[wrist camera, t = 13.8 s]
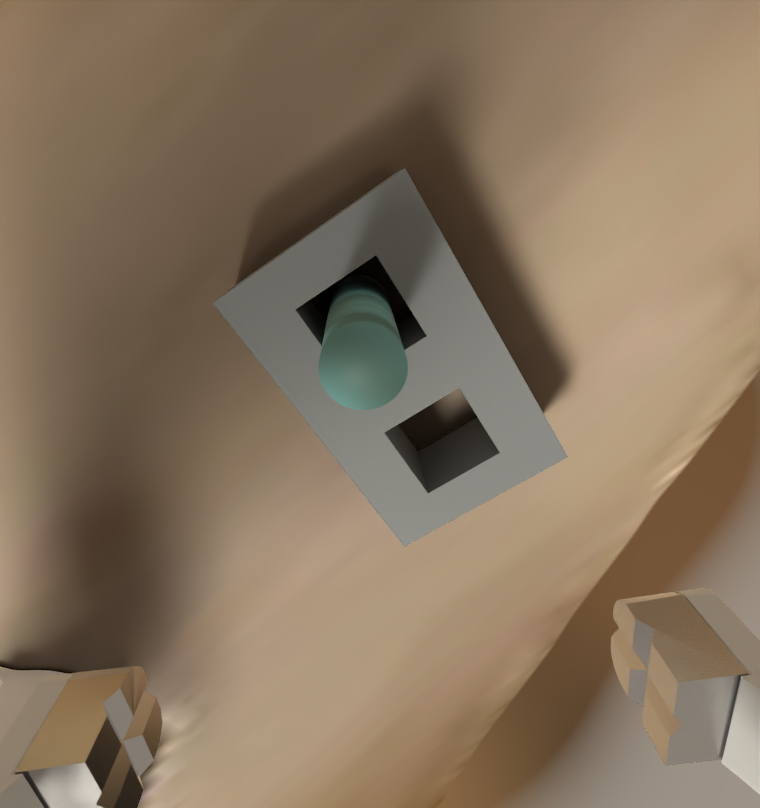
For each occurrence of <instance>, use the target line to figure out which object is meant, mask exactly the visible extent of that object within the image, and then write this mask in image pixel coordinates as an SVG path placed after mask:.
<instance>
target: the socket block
mask: <svg viewBox="0 0 760 808" xmlns="http://www.w3.org/2000/svg"><path fill="white" fill-rule="evenodd" d="M374 256H377V257H378V259H379V261H380V262H381V264H382V265H383V267H384V268H385V270H386V272H387V273H388V275H389V276H390V278H391V280H392V281H393V283H394V284H395V286H396V288H397V289H398V291H399V292H400V294H401V296H402V297H403V299H404V300H405V302H406V304H407V305H408V307H409V308H410V310H411V312H412V313H413V316H411V317H410V318H408V319H406V320H405V321H403V322H402V323H400V324H399V325H397V329H398V332H399V335H400V338H401V341H402V344H403V347H404V351H405V354H406V357H407V362H408V374H407V378H406V382H405V384H404V386H403V388H402V390H401V391H400V393H399V394H398V395H397V396H396V397H395V398H394V399H393V400H392V401H390V402H389V403H388V404H386V405H384V406H382V407H379V408H376V409H372V410H354V409H350V408H347V407H344V406H342V405H340V404H338V403H337V402H336V401H334V400H333V399H332V398H331V397H330V396H329V395H328V394H327V393H326V391H325V390H324V388H323V386H322V384H321V381H320V378H319V373H318V364H319V358H320V353H321V348H322V343H323V338H324V333H325V328H326V323H327V322H326V321H325V319H324V318H323V317H322V315H321V314H320V312H319V311H318V309H317V308H316V307H315V305H314V304H313V302H312V301H311V299H312V298H313V297H315V296H316V295H318V294H319V293H321V292H322V291H324V290H325V289H327V288H328V287H330V286H331V285H333V284H334V283H336V282H337V281H339V280H340V279H342V278H343V277H345V276H346V275H347V274H349V273H350V272H352V271H353V270H355V269H356V268H358V267H359V266H361V265H362V264H364V263H365V262H367V261H368V260H370V259H371V258H373V257H374ZM213 304H214V305H215V307H216V308H217V309H218V310H219V312H220V313H221V314H222V316H223V317H224V318H225V319H226V321H227V322H228V323H229V324H230V326H231V327H232V328H233V330H234V331H235V332H236V333H237V335H238V336H239V337H240V338H241V340H242V341H243V342H244V344H245V345H246V346H247V347H248V349H249V350H250V351H251V352H252V354H253V355H254V356H255V357H256V359H257V360H258V361H259V363H260V364H261V365H262V366H263V368H264V369H265V370H266V371H267V373H268V374H269V375H270V377H271V378H272V379H273V380H274V382H275V383H276V384H277V385H278V387H279V388H280V389H281V391H282V392H283V393H284V394H285V396H286V397H287V398H288V399H289V401H290V402H291V403H292V404H293V406H294V407H295V408H296V410H297V411H298V412H299V413H300V415H301V416H302V417H303V418H304V420H305V421H306V422H307V424H308V425H309V426H310V427H311V429H312V430H313V431H314V432H315V434H316V435H317V436H318V438H319V439H320V440H321V441H322V443H323V444H324V445H325V446H326V448H327V449H328V450H329V451H330V453H331V454H332V455H333V457H334V458H335V459H336V460H337V462H338V463H339V464H340V465H341V467H342V468H343V469H344V471H345V472H346V473H347V474H348V476H349V477H350V478H351V479H352V481H353V482H354V483H355V485H356V486H357V487H358V488H359V490H360V491H361V492H362V493H363V495H364V496H365V497H366V498H367V500H368V501H369V502H370V504H371V505H372V506H373V507H374V509H375V510H376V511H377V512H378V514H379V515H380V516H381V518H382V519H383V520H384V521H385V523H386V524H387V525H388V526H389V528H390V529H391V530H392V532H393V533H394V534H395V535H396V537H397V538H398V539H399V540H400V542H401V543H402V544H403V545H404V547H405V546H407V545H408V544H410V543H412V542H414V541H416V540H418V539H419V538H421V537H423V536H425V535H427V534H428V533H430V532H432V531H434V530H436V529H438V528H439V527H441V526H443V525H445V524H447V523H449V522H450V521H452V520H454V519H456V518H458V517H459V516H461V515H463V514H465V513H467V512H469V511H470V510H472V509H474V508H476V507H478V506H479V505H481V504H483V503H485V502H487V501H489V500H490V499H492V498H494V497H496V496H498V495H499V494H501V493H503V492H505V491H507V490H509V489H510V488H512V487H514V486H516V485H518V484H520V483H521V482H523V481H525V480H527V479H529V478H530V477H532V476H534V475H536V474H538V473H540V472H541V471H543V470H545V469H547V468H549V467H550V466H552V465H554V464H556V463H558V462H560V461H561V460H563V459H565V458H567V457H568V456H567V455H566V453H565V451H564V449H563V447H562V446H561V444H560V442H559V440H558V439H557V437H556V435H555V433H554V431H553V430H552V428H551V426H550V424H549V423H548V421H547V419H546V417H545V416H544V414H543V412H542V410H541V408H540V407H539V405H538V403H537V401H536V400H535V398H534V396H533V394H532V392H531V391H530V389H529V387H528V385H527V384H526V382H525V380H524V378H523V376H522V375H521V373H520V371H519V369H518V368H517V366H516V364H515V362H514V360H513V359H512V357H511V355H510V353H509V352H508V350H507V348H506V346H505V345H504V343H503V341H502V339H501V337H500V336H499V334H498V332H497V330H496V329H495V327H494V325H493V323H492V321H491V320H490V318H489V316H488V314H487V313H486V311H485V309H484V307H483V305H482V304H481V302H480V300H479V298H478V297H477V295H476V293H475V291H474V289H473V288H472V286H471V284H470V282H469V281H468V279H467V277H466V275H465V274H464V272H463V270H462V268H461V266H460V265H459V263H458V261H457V259H456V258H455V256H454V254H453V252H452V250H451V249H450V247H449V245H448V243H447V242H446V240H445V238H444V236H443V234H442V233H441V231H440V229H439V227H438V226H437V224H436V222H435V220H434V218H433V217H432V215H431V213H430V211H429V210H428V208H427V206H426V204H425V203H424V201H423V199H422V197H421V195H420V194H419V192H418V190H417V188H416V187H415V185H414V183H413V181H412V179H411V178H410V176H409V174H408V172H407V171H406V169H405V168H404V169H402V170H399V171H397V172H395V173H394V174H392V175H391V176H390V177H388V178H387V179H385V180H384V181H383V182H381V183H380V184H378V185H377V186H375V187H374V188H373V189H371V190H370V191H368V192H367V193H365V194H364V195H363V196H361V197H360V198H358V199H357V200H355V201H354V202H353V203H351V204H350V205H348V206H347V207H346V208H344V209H343V210H341V211H340V212H338V213H337V214H336V215H334V216H333V217H331V218H330V219H328V220H327V221H326V222H324V223H323V224H321V225H320V226H318V227H317V228H316V229H314V230H313V231H311V232H310V233H309V234H307V235H306V236H304V237H303V238H301V239H300V240H299V241H297V242H296V243H294V244H293V245H291V246H290V247H289V248H287V249H286V250H284V251H283V252H281V253H280V254H279V255H277V256H276V257H274V258H273V259H272V260H270V261H269V262H267V263H266V264H264V265H263V266H262V267H260V268H259V269H257V270H256V271H254V272H253V273H252V274H250V275H249V276H247V277H246V278H244V279H243V280H242V281H240V282H239V283H237V284H236V285H235V286H233V287H232V288H231V289H230V290H228V291H227V292H226V293H225V294H223V295H222V296H221V297H220V298H218V299H217V300H216V301H215V302H213ZM458 388H460V390H461V392H462V393H463V395H464V396H465V398H466V399H467V401H468V403H469V404H470V406H471V407H472V409H473V411H474V412H475V414H476V415H477V418H475V419H473V420H472V421H470V422H468V423H466V424H465V425H463V426H461V427H460V428H458V429H456V430H454V431H453V432H451V433H449V434H448V435H446V436H444V437H442V438H441V439H439V440H437V441H436V442H434V443H432V444H430V445H429V446H427V447H425V448H424V449H422V450H420V451H418V452H417V450H416V449H415V447H414V446H413V444H412V443H411V442H410V440H409V439H408V437H407V436H406V434H405V433H404V432H403V430H402V429H401V427H400V426H399V425H398V424H400V423H401V422H403V421H405V420H406V419H408V418H410V417H411V416H413V415H415V414H416V413H418V412H420V411H421V410H423V409H425V408H426V407H428V406H430V405H431V404H433V403H435V402H436V401H438V400H440V399H441V398H443V397H445V396H446V395H448V394H450V393H451V392H453V391H455V390H456V389H458Z"/></svg>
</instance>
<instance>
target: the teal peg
mask: <svg viewBox="0 0 760 808" xmlns="http://www.w3.org/2000/svg"><path fill="white" fill-rule="evenodd" d="M318 373H319V378H320V381H321V384H322V386H323V388H324V390H325V391H326V393H327V394H328V395H329V396H330V397H331V398H332V399H333V400H334V401H336V402H337V403H338V404H340V405H342V406H344V407H347V408H350V409H354V410H372V409H376V408H379V407H382V406H384V405H386V404H388V403H389V402H390V401H392V400H393V399H394V398H395V397H396V396H397V395H398V394H399V393H400V391H401V390H402V388H403V386H404V384H405V382H406V378H407V374H408V362H407V357H406V354H405V351H404V347H403V344H402V341H401V338H400V335H399V332H398V329H397V326H396V323H395V320H394V316H393V313H392V310H391V307H390V304H389V301H388V298H387V295H386V292H385V290H384V288H383V287H382V286H381V285H380V284H379V282H377V281H376V280H374V279H373V278H371V277H368V276H364V275H354V276H350V277H348V278H346V279H344V280H343V281H341V282H340V283H339V284H338V285H337V287H336V288H335V290H334V291H333V294H332V298H331V302H330V307H329V312H328V317H327V323H326V328H325V333H324V338H323V343H322V348H321V353H320V358H319V364H318Z"/></svg>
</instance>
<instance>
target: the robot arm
mask: <svg viewBox="0 0 760 808" xmlns="http://www.w3.org/2000/svg"><path fill="white" fill-rule="evenodd" d="M613 618H614V620H615V622H616V623H617V625H618V627H619V629H618V630H617V631H616V632H615V633H614V634H613V635H612V637H611V654H612V659H613V664H614V668H615V671H616V673H617V676H618V679H619V681H620V683H621V685H622V687H623V689H624V691H625V693H626V695H627V696H628V697H629V698H630V699H632V700H633V701H635V702H636V703H637V704H639V705H640V706H642V707H643V708H644V709H643V717H642V724H643V726H644V727H645V729H646V731H647V733H648V735H649V737H650V738H651V740H652V742H653V744H654V745H655V747H656V749H657V751H658V753H659V755H660V756H661V758H662V760H663V762H664V764H665V765H674V764H683V763H692V762H702V761H712V760H722V764H724V765H725V766H726V767H727V768H728V769H730V770H731V771H732V772H733V773H735V774H736V775H737V776H738V777H739V778H741V779H742V780H743V781H744V782H745V783H747V784H748V785H749V786H750V787H751V788H753V789H754V790H755V791H756V792H758V793H759V794H760V641H759V640H758V639H757V637H756V636H755V635H754V634H753V633H752V632H751V631H750V630H749V629H748V628H747V626H746V625H745V624H744V623H743V622H742V621H741V620H740V619H739V618H738V617H737V616H736V614H735V613H734V612H733V611H732V610H731V609H730V608H729V607H728V606H727V605H726V604H725V603H724V602H723V600H722V599H721V598H720V597H719V596H718V595H717V594H716V593H715V592H714V591H712V590H710V589H708V588H700V589H692V590H685V591H679V592H675V593H674V592H669V593H663V594H656V595H649V596H642V597H635V598H629V599H622V600H617V602H616V603H615V605H614V611H613ZM147 682H148V678H147V676H146V674H145V672H144V670H143V668H142V666H130V667H121V668H112V669H102V670H93V671H84V672H77V673H69V674H66V673H62V672H56V671H47V670H12V669H8V668H4V667H0V808H138V805H139V802H140V799H141V796H142V794H143V791H144V789H143V786H142V783H141V780H140V775H141V774H142V773H143V772H144V771H145V770H146V769H147V767H148V766H149V765H150V764H151V763H152V762H153V761H154V759H155V756H156V753H157V750H158V747H159V744H160V738H161V729H162V716H161V708H160V706H159V703H158V701H157V698H155V697H154V696H152V695H151V694H149V693H147V692H146V691H144V690H145V687H146V685H147Z"/></svg>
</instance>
